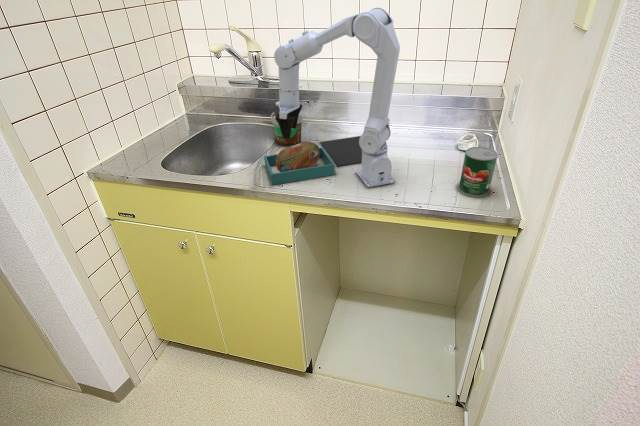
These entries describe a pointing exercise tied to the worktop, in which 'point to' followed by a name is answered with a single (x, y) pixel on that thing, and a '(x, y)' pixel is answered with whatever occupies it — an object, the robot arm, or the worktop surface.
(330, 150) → the mat
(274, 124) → the food container
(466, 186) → the canned tomato
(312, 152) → the tin
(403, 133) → the worktop surface
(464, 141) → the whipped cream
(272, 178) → the crate
